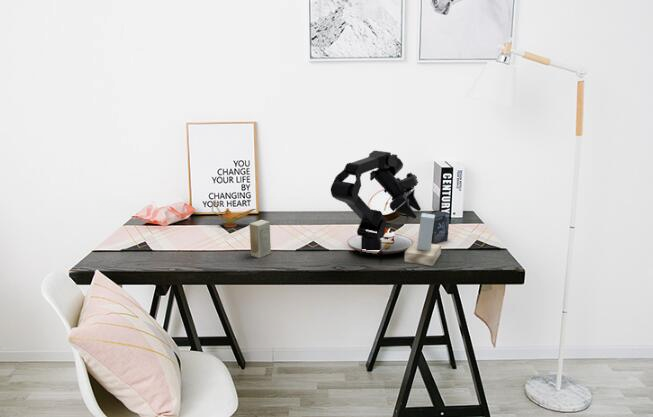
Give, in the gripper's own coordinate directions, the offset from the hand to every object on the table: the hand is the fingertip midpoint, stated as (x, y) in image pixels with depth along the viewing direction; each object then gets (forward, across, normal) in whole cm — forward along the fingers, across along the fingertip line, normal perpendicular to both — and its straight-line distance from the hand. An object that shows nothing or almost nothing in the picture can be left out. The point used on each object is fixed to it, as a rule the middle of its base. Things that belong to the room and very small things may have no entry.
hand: (417, 213), depth 223 cm
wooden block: (+12, -8, +8) cm, 17 cm away
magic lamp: (-44, +5, +63) cm, 77 cm away
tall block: (+10, -8, +4) cm, 13 cm away
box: (+14, +12, +6) cm, 20 cm away
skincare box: (-27, -22, +46) cm, 58 cm away
